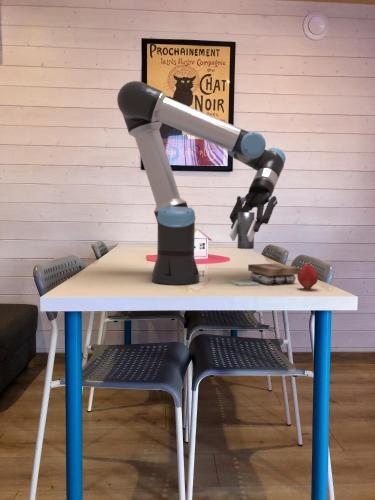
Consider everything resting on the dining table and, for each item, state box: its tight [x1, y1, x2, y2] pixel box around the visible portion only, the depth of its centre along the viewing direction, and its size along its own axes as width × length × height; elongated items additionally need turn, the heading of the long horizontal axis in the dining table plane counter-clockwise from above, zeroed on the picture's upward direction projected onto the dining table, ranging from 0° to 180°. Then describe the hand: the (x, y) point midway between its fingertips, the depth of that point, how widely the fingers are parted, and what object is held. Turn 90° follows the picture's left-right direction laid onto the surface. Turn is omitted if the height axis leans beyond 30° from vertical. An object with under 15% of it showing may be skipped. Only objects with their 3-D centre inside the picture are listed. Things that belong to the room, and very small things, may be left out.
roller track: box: [250, 272, 296, 286], centre depth 146 cm, size 11×9×3 cm
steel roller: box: [236, 211, 255, 250], centre depth 140 cm, size 5×5×11 cm
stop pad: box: [228, 279, 261, 287], centre depth 142 cm, size 7×7×1 cm
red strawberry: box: [297, 262, 319, 291], centre depth 133 cm, size 6×6×8 cm
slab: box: [247, 262, 300, 276], centre depth 146 cm, size 11×12×2 cm
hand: (240, 238), depth 138 cm, fingers closed on steel roller, 5 cm apart
